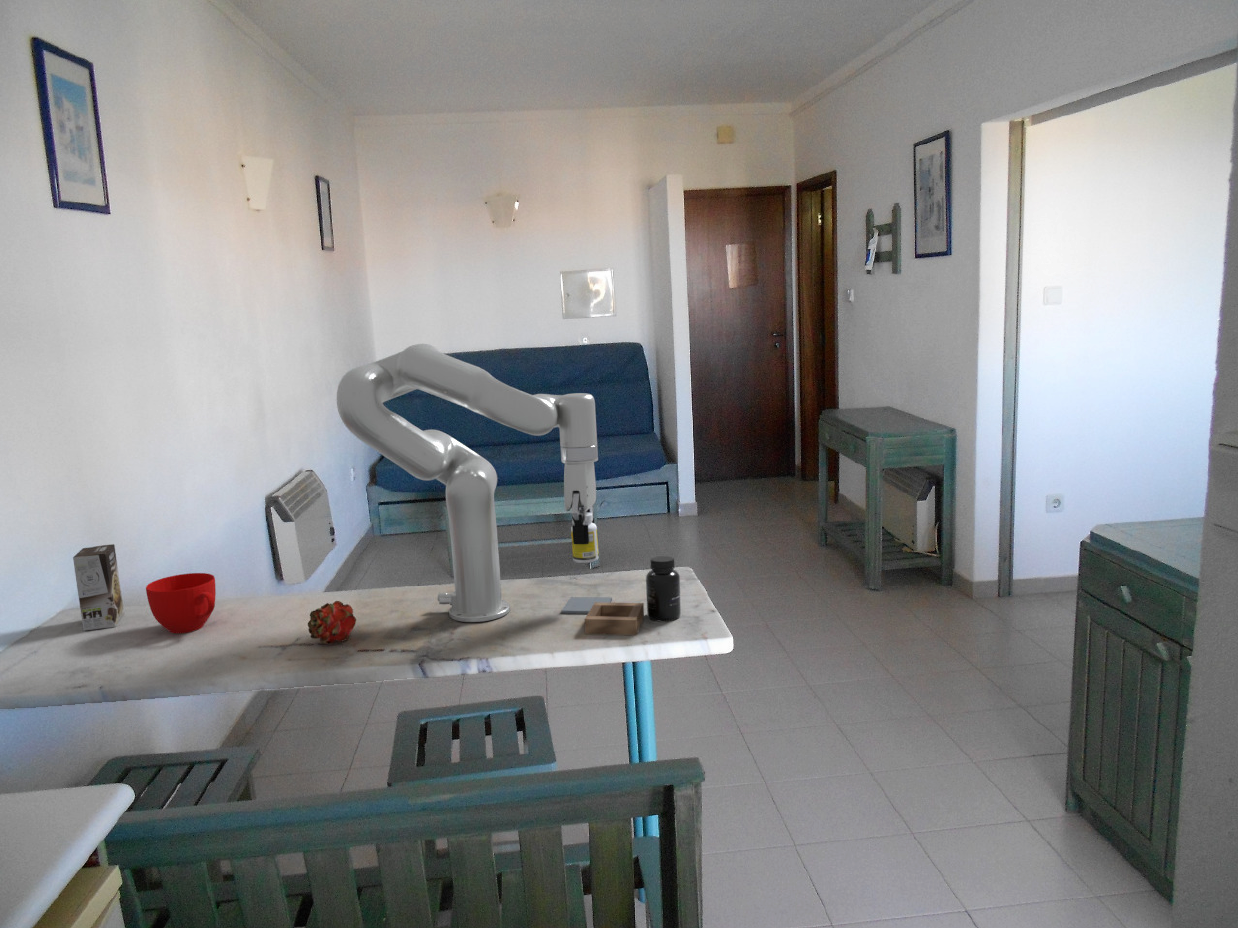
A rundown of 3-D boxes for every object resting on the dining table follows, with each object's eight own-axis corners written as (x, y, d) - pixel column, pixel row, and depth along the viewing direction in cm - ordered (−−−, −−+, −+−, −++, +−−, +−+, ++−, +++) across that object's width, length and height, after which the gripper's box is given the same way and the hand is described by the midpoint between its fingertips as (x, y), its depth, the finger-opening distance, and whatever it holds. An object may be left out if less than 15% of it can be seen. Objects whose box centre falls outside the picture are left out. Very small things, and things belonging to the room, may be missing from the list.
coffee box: (116, 627, 192) (106, 553, 190) (82, 631, 191) (71, 557, 188) (125, 613, 201) (115, 543, 198) (93, 618, 199) (82, 546, 196)
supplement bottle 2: (681, 621, 180) (679, 562, 178) (647, 622, 181) (645, 564, 179) (680, 609, 187) (678, 553, 185) (647, 611, 187) (644, 554, 185)
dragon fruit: (313, 660, 173) (346, 646, 184) (345, 635, 171) (377, 623, 182) (289, 623, 174) (323, 611, 185) (321, 598, 172) (354, 588, 183)
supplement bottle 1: (582, 555, 194) (579, 510, 192) (603, 557, 191) (601, 512, 189) (567, 561, 189) (565, 516, 188) (589, 564, 186) (587, 517, 185)
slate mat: (561, 613, 188) (561, 610, 188) (571, 599, 197) (571, 596, 197) (604, 614, 187) (604, 611, 187) (612, 600, 195) (612, 597, 195)
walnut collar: (585, 633, 176) (584, 619, 175) (595, 616, 185) (594, 602, 185) (636, 634, 174) (635, 619, 173) (644, 617, 184) (643, 602, 183)
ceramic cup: (186, 646, 179) (180, 597, 177) (139, 633, 188) (132, 586, 186) (244, 625, 189) (239, 579, 188) (197, 614, 199) (191, 569, 197)
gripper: (571, 447, 195) (575, 529, 198) (551, 461, 179) (557, 551, 182) (605, 447, 194) (609, 529, 197) (588, 461, 177) (593, 551, 180)
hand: (584, 539), depth 189 cm, fingers closed on supplement bottle 1, 5 cm apart
